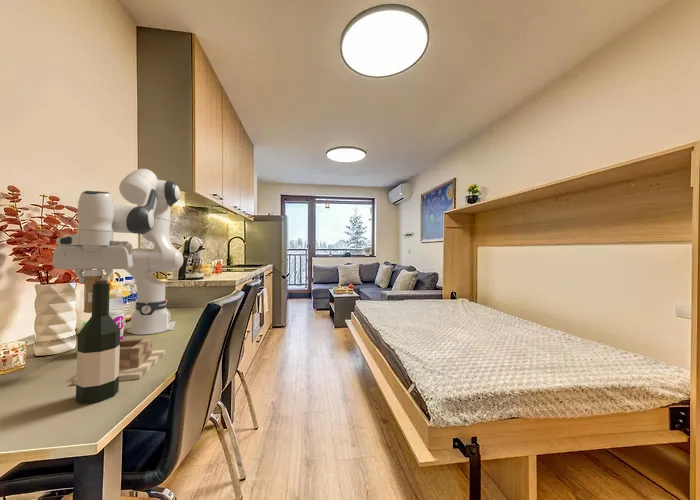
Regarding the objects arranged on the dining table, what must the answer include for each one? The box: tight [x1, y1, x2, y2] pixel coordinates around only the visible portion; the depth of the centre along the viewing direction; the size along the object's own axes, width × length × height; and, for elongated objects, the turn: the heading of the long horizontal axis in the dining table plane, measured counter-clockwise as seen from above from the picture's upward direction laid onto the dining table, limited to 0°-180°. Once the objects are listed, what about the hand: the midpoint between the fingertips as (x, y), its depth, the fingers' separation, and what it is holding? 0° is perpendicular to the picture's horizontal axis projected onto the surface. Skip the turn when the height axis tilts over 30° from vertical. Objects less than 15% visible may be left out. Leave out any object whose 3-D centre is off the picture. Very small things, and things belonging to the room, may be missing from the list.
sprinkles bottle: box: [83, 269, 104, 314], centre depth 92 cm, size 5×5×14 cm
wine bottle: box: [75, 279, 120, 405], centre depth 75 cm, size 8×8×30 cm
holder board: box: [72, 337, 166, 386], centre depth 93 cm, size 22×16×8 cm
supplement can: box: [109, 308, 125, 340], centre depth 108 cm, size 8×8×15 cm
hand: (93, 283), depth 92 cm, fingers closed on sprinkles bottle, 4 cm apart
